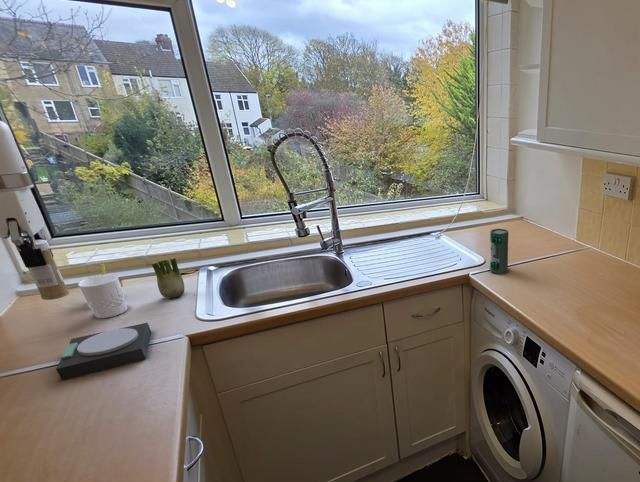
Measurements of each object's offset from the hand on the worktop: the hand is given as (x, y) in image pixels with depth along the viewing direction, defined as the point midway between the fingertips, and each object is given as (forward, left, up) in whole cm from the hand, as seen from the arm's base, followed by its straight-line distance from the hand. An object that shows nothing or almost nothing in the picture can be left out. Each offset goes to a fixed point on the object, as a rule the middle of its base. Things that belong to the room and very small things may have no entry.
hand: (40, 261), depth 92 cm
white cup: (+4, +15, -22) cm, 27 cm away
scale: (+7, -11, -22) cm, 25 cm away
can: (+113, -18, -22) cm, 117 cm away
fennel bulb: (+18, +18, -22) cm, 34 cm away
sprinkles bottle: (0, 0, -9) cm, 9 cm away
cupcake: (+2, +25, -22) cm, 33 cm away
